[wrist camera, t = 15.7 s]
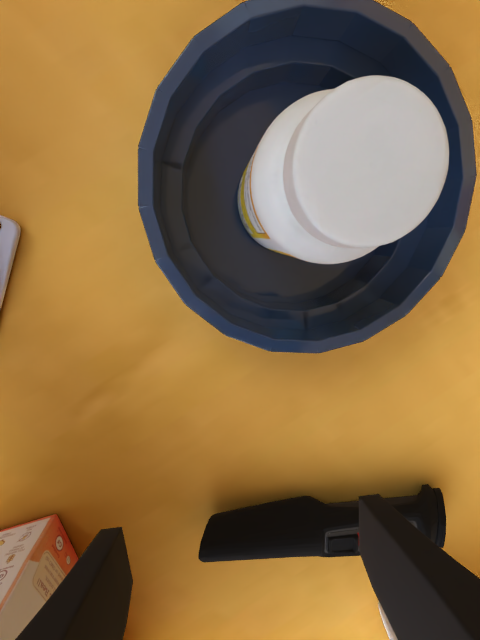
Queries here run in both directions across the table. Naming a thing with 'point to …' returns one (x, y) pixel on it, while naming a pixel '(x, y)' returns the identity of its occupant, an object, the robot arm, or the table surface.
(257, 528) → the electric trimmer
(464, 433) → the table surface
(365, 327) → the bowl
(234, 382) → the table surface
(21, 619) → the cracker box
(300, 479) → the table surface
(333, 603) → the table surface
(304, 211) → the supplement bottle
